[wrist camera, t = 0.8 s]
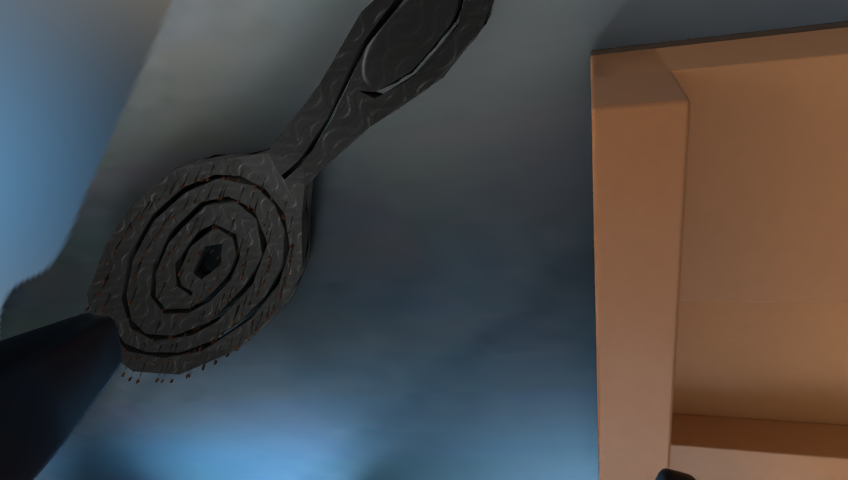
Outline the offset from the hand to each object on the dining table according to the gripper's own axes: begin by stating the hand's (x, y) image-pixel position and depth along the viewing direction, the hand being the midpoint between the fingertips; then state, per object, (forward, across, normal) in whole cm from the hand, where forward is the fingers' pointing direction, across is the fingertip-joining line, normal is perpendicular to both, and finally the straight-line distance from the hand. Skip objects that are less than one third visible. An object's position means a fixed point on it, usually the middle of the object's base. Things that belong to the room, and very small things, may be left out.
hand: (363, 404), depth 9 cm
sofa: (+14, -10, +5) cm, 18 cm away
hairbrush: (+14, +9, +4) cm, 17 cm away
